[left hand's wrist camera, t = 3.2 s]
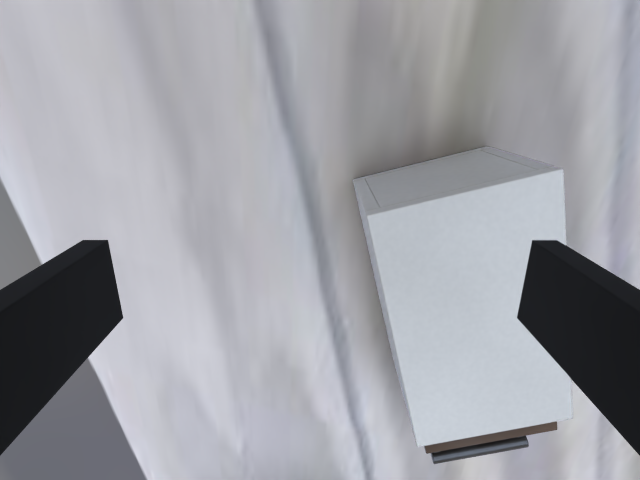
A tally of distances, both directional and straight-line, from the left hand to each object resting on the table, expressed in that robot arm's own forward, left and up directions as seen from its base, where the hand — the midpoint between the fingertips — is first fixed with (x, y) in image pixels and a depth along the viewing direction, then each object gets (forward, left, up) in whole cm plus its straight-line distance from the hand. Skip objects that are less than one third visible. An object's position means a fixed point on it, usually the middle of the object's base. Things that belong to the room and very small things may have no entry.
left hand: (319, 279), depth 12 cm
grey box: (-7, +11, -20) cm, 24 cm away
